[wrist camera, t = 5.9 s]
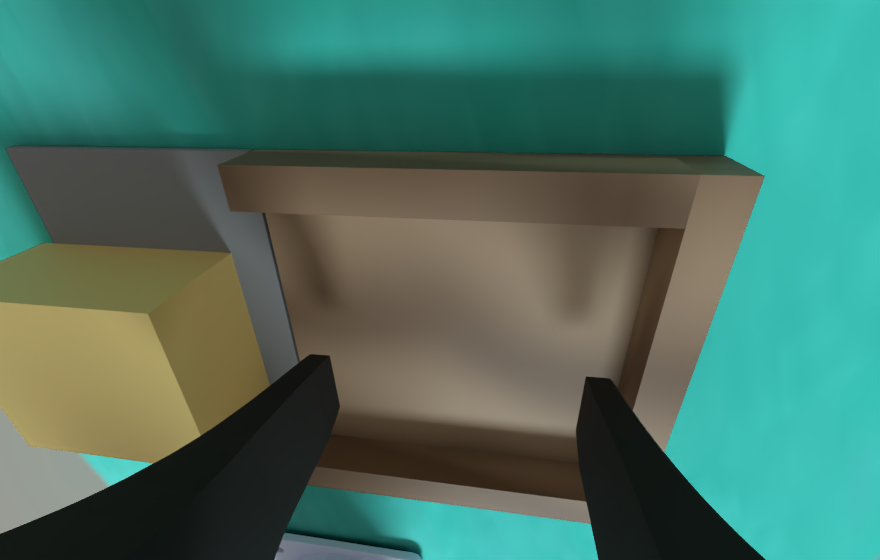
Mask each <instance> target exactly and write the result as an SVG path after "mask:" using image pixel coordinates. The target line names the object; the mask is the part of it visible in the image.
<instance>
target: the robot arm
mask: <svg viewBox="0 0 880 560" xmlns="http://www.w3.org/2000/svg"><path fill="white" fill-rule="evenodd" d="M339 408H340V403H339V399H338V394H337V389H336V384H335V379H334V374H333V369H332V364H331V359H330V356H329V355H317V354H310V355H308V356H307V357H306V358H304V359H303V360H302V361H300V362H299V363H298V364H297V365H295V366H294V367H293V368H292V369H290V370H289V371H288V372H287V373H285V374H284V375H283V376H282V377H280V378H279V379H278V380H276V381H275V382H274V383H273V384H271V385H270V386H269V387H268V388H266V389H265V390H264V391H262V392H261V393H260V394H259V395H257V396H256V397H255V398H253V399H252V400H251V401H249V402H248V403H247V404H245V405H244V406H243V407H241V408H240V409H238V410H237V411H236V412H234V413H233V414H231V415H230V416H229V417H227V418H226V419H224V420H223V421H222V422H220V423H219V424H217V425H216V426H215V427H213V428H212V429H210V430H209V431H207V432H205V433H204V434H202V435H201V436H199V437H198V438H196V439H195V440H193V441H191V442H190V443H188V444H186V445H185V446H183V447H182V448H180V449H178V450H177V451H175V452H173V453H172V454H170V455H168V456H166V457H164V458H163V459H161V460H159V461H157V462H155V463H153V464H152V465H150V466H148V467H146V468H144V469H142V470H141V471H139V472H137V473H135V474H133V475H131V476H130V477H128V478H126V479H124V480H122V481H120V482H118V483H116V484H114V485H112V486H110V487H108V488H106V489H104V490H102V491H99V492H97V493H95V494H93V495H91V496H89V497H87V498H85V499H82V500H80V501H78V502H76V503H74V504H71V505H69V506H67V507H65V508H62V509H60V510H58V511H55V512H53V513H50V514H48V515H46V516H43V517H41V518H39V519H36V520H34V521H31V522H29V523H27V524H24V525H21V526H19V527H17V528H14V529H12V530H9V531H7V532H4V533H1V534H0V560H274V559H275V560H422V559H421V557H420V556H419V555H418V554H416V553H412V552H406V551H400V550H393V549H387V548H381V547H374V546H368V545H361V544H355V543H348V542H342V541H336V540H329V539H323V538H316V537H310V536H303V535H297V534H291V533H285V530H286V528H287V525H288V523H289V521H290V519H291V516H292V514H293V512H294V510H295V508H296V506H297V504H298V502H299V500H300V498H301V496H302V494H303V492H304V490H305V488H306V486H307V484H308V481H309V479H310V477H311V475H312V473H313V471H314V469H315V467H316V465H317V463H318V461H319V459H320V457H321V455H322V453H323V451H324V449H325V447H326V444H327V442H328V440H329V438H330V435H331V432H332V429H333V427H334V424H335V421H336V418H337V414H338V411H339ZM576 439H577V450H578V460H579V469H580V474H581V479H582V483H583V488H584V493H585V498H586V503H587V507H588V512H589V517H590V521H591V526H592V531H593V536H594V540H595V545H596V550H597V554H598V560H765V559H764V558H763V557H762V556H761V555H760V554H759V553H758V552H757V551H756V550H755V549H753V548H752V547H751V546H750V545H749V544H748V543H747V542H746V541H745V540H744V539H743V538H742V537H741V536H740V535H739V534H738V533H737V532H736V531H735V530H734V529H733V528H732V527H731V526H730V525H729V524H727V523H726V521H725V520H724V519H723V518H722V517H721V516H720V515H719V514H718V513H717V512H716V511H715V510H714V509H713V508H712V507H711V506H710V505H709V504H708V503H707V502H706V501H705V499H704V498H703V497H702V496H701V495H700V494H699V493H698V492H697V491H696V490H695V488H694V487H693V486H692V485H691V484H690V483H689V482H688V480H687V479H686V478H685V477H684V476H683V475H682V473H681V472H680V471H679V470H678V469H677V468H676V466H675V465H674V464H673V463H672V462H671V460H670V459H669V458H668V457H667V455H666V454H665V453H664V452H663V450H662V449H661V448H660V447H659V445H658V444H657V443H656V441H655V440H654V439H653V437H652V436H651V435H650V434H649V432H648V431H647V430H646V428H645V427H644V426H643V424H642V423H641V422H640V420H639V419H638V417H637V416H636V415H635V413H634V412H633V410H632V409H631V408H630V406H629V405H628V403H627V402H626V400H625V399H624V397H623V396H622V394H621V393H620V391H619V390H618V388H617V387H616V385H615V384H614V382H613V381H612V380H611V379H610V378H599V377H587V376H586V378H585V384H584V389H583V394H582V400H581V405H580V410H579V416H578V421H577V426H576Z"/></svg>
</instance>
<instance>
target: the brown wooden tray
mask: <svg viewBox="0 0 880 560" xmlns="http://www.w3.org/2000/svg"><path fill="white" fill-rule="evenodd" d="M217 166H218V170H219V173H220V177H221V180H222V184H223V188H224V191H225V195H226V198H227V202H228V206H229V209H230V212H256V213H265V215H266V219H267V223H268V227H269V232H270V236H271V240H272V244H273V249H274V253H275V257H276V261H277V266H278V270H279V274H280V278H281V283H282V287H283V291H284V295H285V300H286V304H287V308H288V312H289V317H290V321H291V325H292V329H293V334H294V338H295V342H296V346H297V350H298V355H299V359H300V361H302V360H303V359H304V358H306V357H307V356H308V355H310V354H317V355H329V356H330V359H331V364H332V369H333V374H334V379H335V384H336V389H337V394H338V399H339V403H340V408H339V411H338V414H337V418H336V421H335V424H334V427H333V429H332V432H331V435H330V438H329V440H328V442H327V444H326V447H325V449H324V451H323V453H322V455H321V457H320V459H319V461H318V463H317V465H316V467H315V469H314V471H313V473H312V475H311V477H310V479H309V481H308V484H307V485H311V486H319V487H326V488H333V489H341V490H348V491H355V492H362V493H370V494H377V495H384V496H392V497H399V498H406V499H414V500H421V501H428V502H436V503H443V504H450V505H457V506H465V507H472V508H479V509H487V510H494V511H501V512H509V513H516V514H523V515H530V516H538V517H545V518H552V519H560V520H567V521H574V522H582V523H589V524H591V521H590V517H589V512H588V507H587V503H586V498H585V493H584V488H583V483H582V479H581V474H580V469H579V460H578V450H577V439H576V426H577V421H578V416H579V410H580V405H581V400H582V394H583V389H584V384H585V378H586V376H587V377H599V378H610V379H611V380H612V381H613V382H614V384H615V385H616V387H617V388H618V390H619V391H620V393H621V394H622V396H623V397H624V399H625V400H626V402H627V403H628V405H629V406H630V408H631V409H632V410H633V412H634V413H635V415H636V416H637V417H638V419H639V420H640V422H641V423H642V424H643V426H644V427H645V428H646V430H647V431H648V432H649V434H650V435H651V436H652V437H653V439H654V440H655V441H656V443H657V444H658V445H659V447H660V448H661V449H662V450H663V452H664V451H665V448H666V446H667V443H668V440H669V437H670V435H671V432H672V429H673V426H674V424H675V421H676V418H677V415H678V413H679V410H680V407H681V404H682V402H683V399H684V396H685V393H686V391H687V388H688V385H689V382H690V380H691V377H692V374H693V372H694V369H695V366H696V363H697V361H698V358H699V355H700V352H701V350H702V347H703V344H704V341H705V339H706V336H707V333H708V330H709V328H710V325H711V322H712V319H713V317H714V314H715V311H716V308H717V306H718V303H719V300H720V298H721V295H722V292H723V289H724V287H725V284H726V281H727V278H728V276H729V273H730V270H731V267H732V265H733V262H734V259H735V256H736V254H737V251H738V248H739V245H740V243H741V240H742V237H743V234H744V232H745V229H746V226H747V224H748V221H749V218H750V215H751V213H752V210H753V207H754V204H755V202H756V199H757V196H758V193H759V191H760V188H761V185H762V182H763V180H764V177H765V176H763V175H762V174H760V173H758V172H756V171H754V170H752V169H750V168H748V167H746V166H744V165H742V164H740V163H738V162H736V161H734V160H732V159H730V158H729V157H727V156H688V155H619V154H550V153H482V152H413V151H345V150H276V149H256V150H253V151H251V152H248V153H246V154H243V155H241V156H238V157H236V158H233V159H231V160H228V161H226V162H223V163H221V164H218V165H217Z"/></svg>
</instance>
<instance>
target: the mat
mask: <svg viewBox="0 0 880 560" xmlns="http://www.w3.org/2000/svg"><path fill="white" fill-rule="evenodd" d="M5 149H6V151H7V153H8V155H9V157H10V159H11V161H12V163H13V165H14V167H15V169H16V170H17V172H18V174H19V176H20V178H21V180H22V182H23V184H24V186H25V188H26V190H27V192H28V194H29V196H30V198H31V200H32V202H33V203H34V205H35V207H36V209H37V211H38V213H39V215H40V217H41V219H42V221H43V223H44V225H45V227H46V229H47V231H48V233H49V234H50V236H51V238H52V240H53V242H54V243H58V244H76V245H95V246H113V247H132V248H151V249H169V250H188V251H206V252H225V253H231V254H232V257H233V260H234V264H235V267H236V271H237V274H238V278H239V281H240V284H241V288H242V291H243V295H244V298H245V302H246V305H247V308H248V312H249V315H250V319H251V322H252V326H253V329H254V332H255V336H256V339H257V343H258V346H259V350H260V353H261V356H262V360H263V363H264V367H265V370H266V374H267V377H268V380H269V384H270V385H271V384H273V383H274V382H275V381H276V380H278V379H279V378H280V377H282V376H283V375H284V374H285V373H287V372H288V371H289V370H290V369H292V368H293V367H294V366H295V365H297V364H298V363H299V362H300V359H299V355H298V350H297V346H296V342H295V338H294V334H293V329H292V325H291V321H290V317H289V312H288V308H287V304H286V300H285V295H284V291H283V287H282V283H281V278H280V274H279V270H278V266H277V261H276V257H275V253H274V249H273V244H272V240H271V236H270V232H269V227H268V223H267V219H266V215H265V213H256V212H230V209H229V206H228V202H227V198H226V195H225V191H224V188H223V184H222V180H221V177H220V173H219V170H218V166H217V165H218V164H221V163H223V162H226V161H228V160H231V159H233V158H236V157H238V156H241V155H243V154H246V153H248V152H251V151H253V149H207V148H139V147H70V146H11V147H6V148H5Z"/></svg>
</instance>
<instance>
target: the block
mask: <svg viewBox="0 0 880 560" xmlns="http://www.w3.org/2000/svg"><path fill="white" fill-rule="evenodd" d="M269 386H270V384H269V380H268V377H267V374H266V370H265V367H264V363H263V360H262V356H261V353H260V350H259V346H258V343H257V339H256V336H255V332H254V329H253V326H252V322H251V319H250V315H249V312H248V308H247V305H246V302H245V298H244V295H243V291H242V288H241V284H240V281H239V278H238V274H237V271H236V267H235V264H234V260H233V257H232V254H231V253H225V252H206V251H188V250H169V249H151V248H132V247H113V246H95V245H76V244H58V243H42V244H40V245H38V246H35V247H33V248H30V249H28V250H26V251H23V252H21V253H18V254H16V255H14V256H11V257H9V258H6V259H4V260H2V261H0V407H1V409H2V410H3V411H4V413H5V414H6V415H7V417H8V418H9V420H10V421H11V422H12V424H13V425H14V426H15V428H16V429H17V430H18V432H19V433H20V434H21V436H22V437H23V438H24V440H25V441H26V443H27V444H28V445H29V446H32V447H39V448H47V449H54V450H61V451H69V452H76V453H83V454H91V455H98V456H105V457H112V458H120V459H127V460H134V461H142V462H149V463H155V462H157V461H159V460H161V459H163V458H164V457H166V456H168V455H170V454H172V453H173V452H175V451H177V450H178V449H180V448H182V447H183V446H185V445H186V444H188V443H190V442H191V441H193V440H195V439H196V438H198V437H199V436H201V435H202V434H204V433H205V432H207V431H209V430H210V429H212V428H213V427H215V426H216V425H217V424H219V423H220V422H222V421H223V420H224V419H226V418H227V417H229V416H230V415H231V414H233V413H234V412H236V411H237V410H238V409H240V408H241V407H243V406H244V405H245V404H247V403H248V402H249V401H251V400H252V399H253V398H255V397H256V396H257V395H259V394H260V393H261V392H262V391H264V390H265V389H266V388H268V387H269Z"/></svg>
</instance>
